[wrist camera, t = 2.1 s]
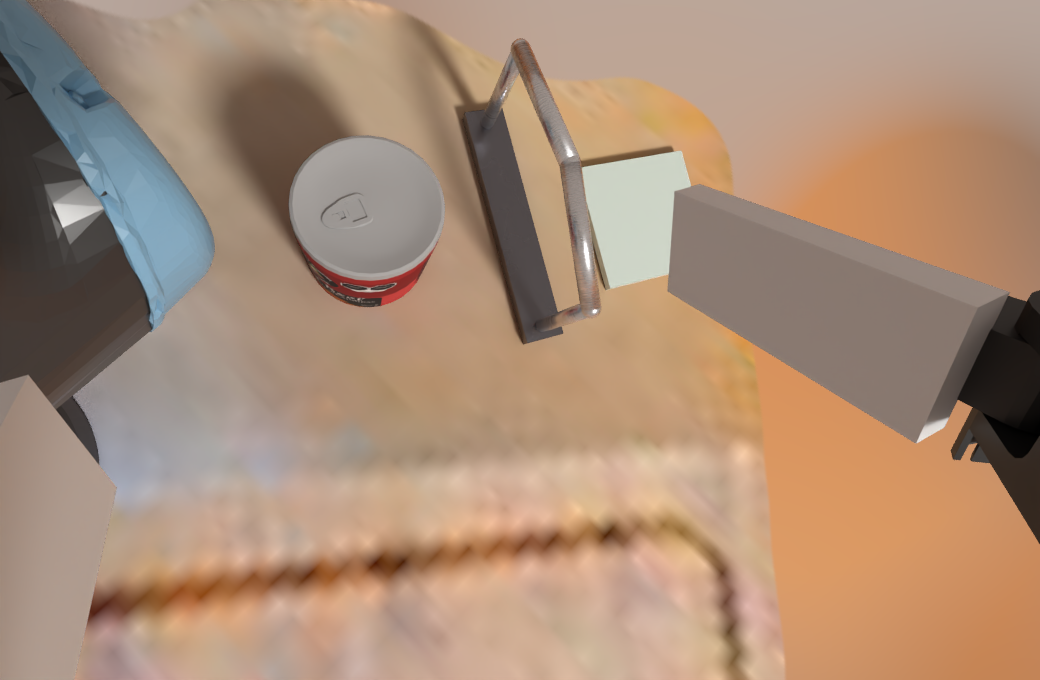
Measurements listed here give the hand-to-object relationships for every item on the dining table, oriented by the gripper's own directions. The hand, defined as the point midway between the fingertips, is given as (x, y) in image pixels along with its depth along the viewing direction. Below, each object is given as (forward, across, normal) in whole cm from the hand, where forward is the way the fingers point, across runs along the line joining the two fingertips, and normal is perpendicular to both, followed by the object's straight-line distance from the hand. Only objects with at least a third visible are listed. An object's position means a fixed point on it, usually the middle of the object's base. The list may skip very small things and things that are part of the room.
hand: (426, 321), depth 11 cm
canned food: (+27, +2, -10) cm, 29 cm away
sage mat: (+25, +24, -12) cm, 37 cm away
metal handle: (+26, +13, -10) cm, 31 cm away
